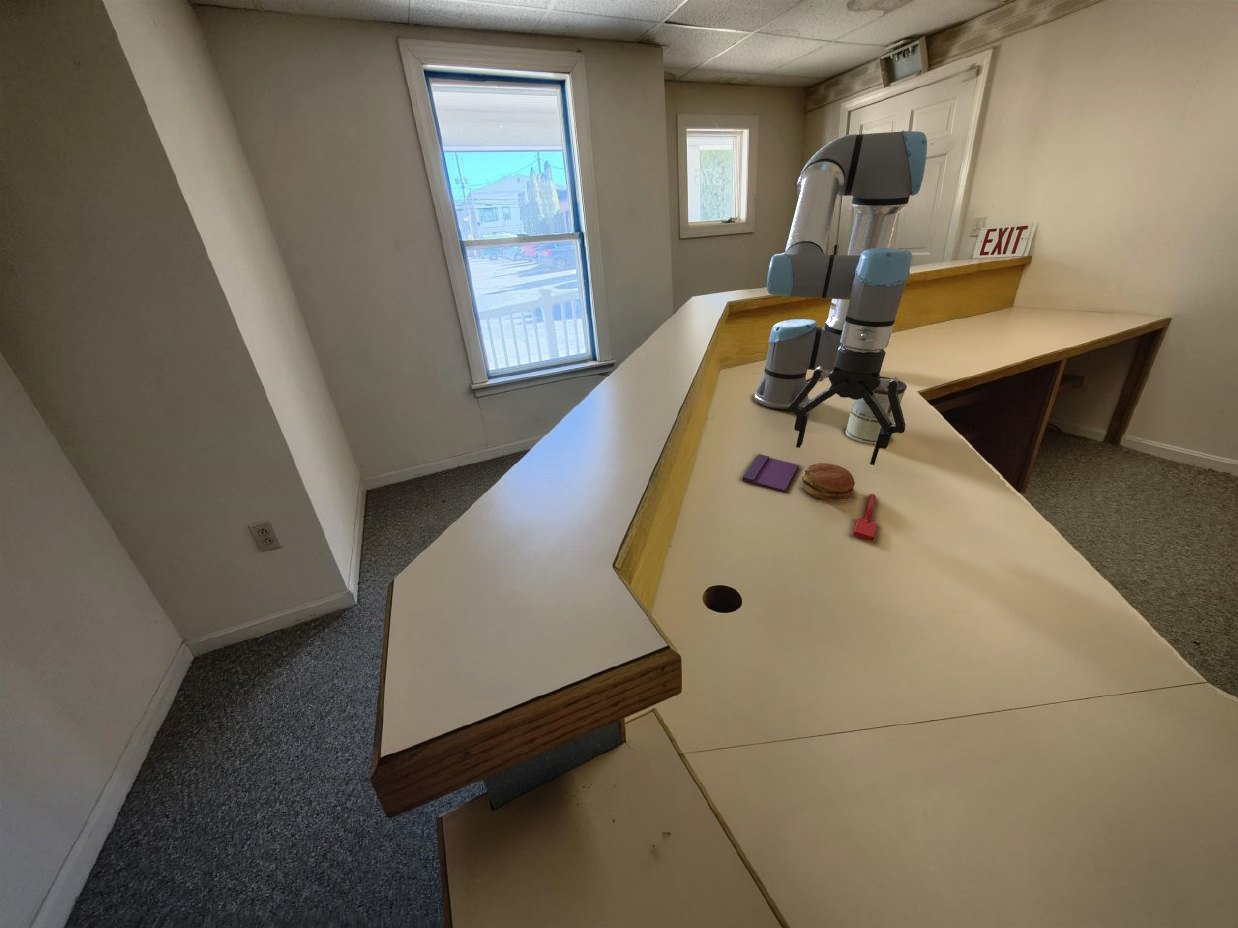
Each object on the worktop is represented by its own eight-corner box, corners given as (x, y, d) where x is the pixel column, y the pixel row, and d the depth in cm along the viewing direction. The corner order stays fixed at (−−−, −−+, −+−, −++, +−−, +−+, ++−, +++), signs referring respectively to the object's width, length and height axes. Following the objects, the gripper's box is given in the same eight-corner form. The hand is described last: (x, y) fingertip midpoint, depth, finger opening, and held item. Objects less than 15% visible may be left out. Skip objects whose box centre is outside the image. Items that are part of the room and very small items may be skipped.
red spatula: (863, 495, 92) (864, 490, 91) (880, 499, 90) (882, 494, 90) (853, 535, 80) (854, 530, 80) (873, 541, 79) (874, 536, 78)
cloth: (758, 456, 106) (758, 453, 106) (798, 466, 102) (798, 463, 102) (742, 480, 97) (742, 477, 97) (784, 491, 93) (785, 488, 93)
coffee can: (845, 424, 121) (858, 373, 114) (888, 431, 117) (905, 378, 110) (844, 440, 113) (858, 386, 106) (890, 447, 109) (908, 392, 102)
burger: (862, 497, 91) (868, 477, 89) (824, 506, 88) (829, 486, 86) (827, 473, 99) (832, 455, 97) (791, 481, 96) (795, 462, 94)
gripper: (784, 342, 82) (766, 446, 93) (947, 363, 70) (905, 478, 81) (793, 333, 87) (776, 431, 98) (946, 351, 76) (907, 460, 87)
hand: (834, 453), depth 90 cm, fingers open, 13 cm apart
